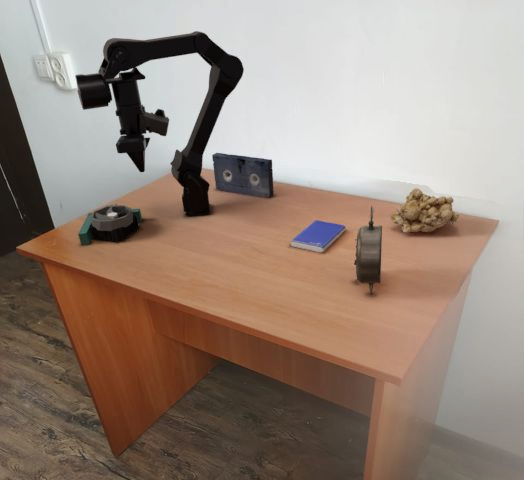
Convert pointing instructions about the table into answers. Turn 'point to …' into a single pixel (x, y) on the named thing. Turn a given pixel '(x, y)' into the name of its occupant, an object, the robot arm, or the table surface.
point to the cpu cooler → (113, 223)
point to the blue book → (318, 236)
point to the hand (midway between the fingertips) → (142, 171)
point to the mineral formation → (424, 212)
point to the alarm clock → (369, 254)
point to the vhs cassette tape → (243, 174)
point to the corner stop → (85, 230)
